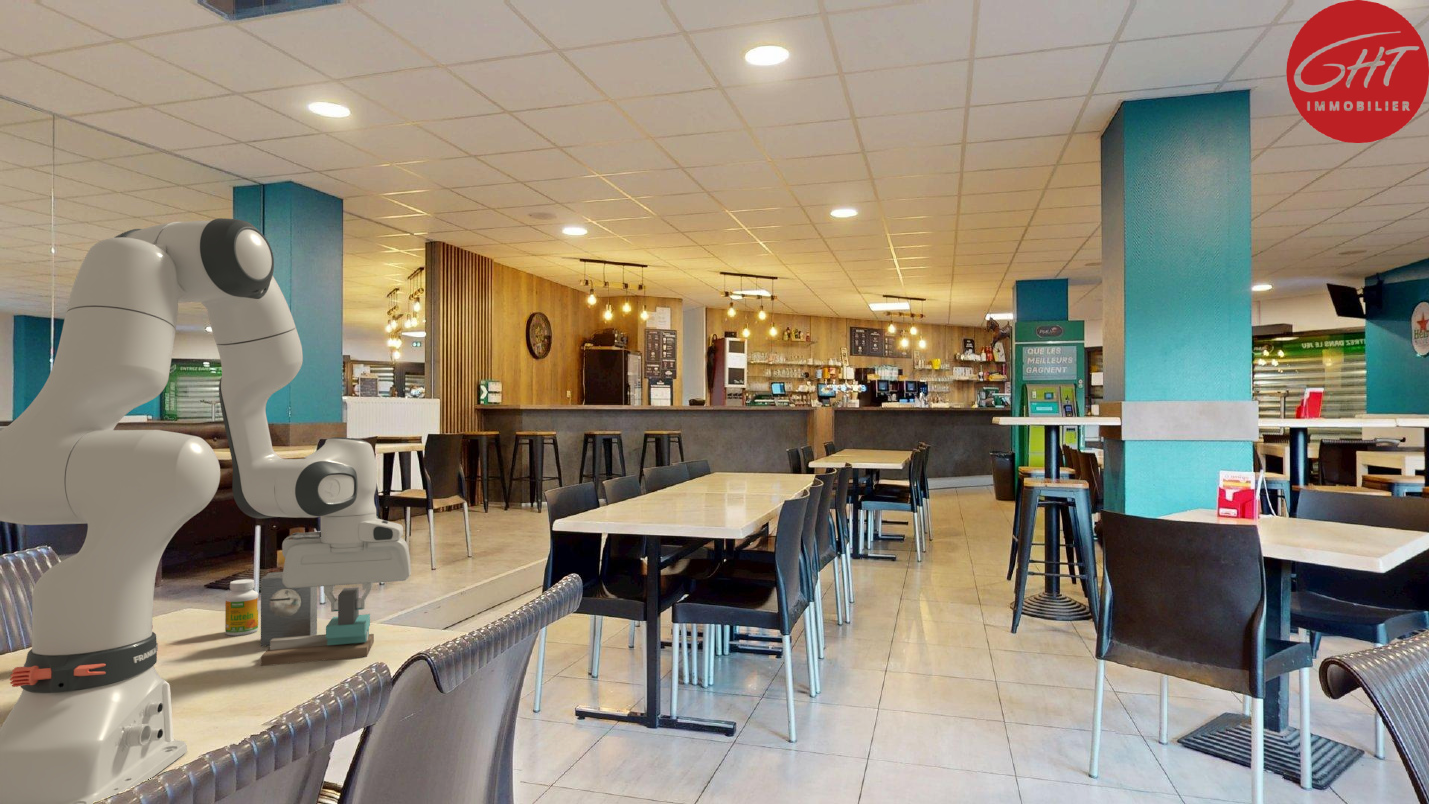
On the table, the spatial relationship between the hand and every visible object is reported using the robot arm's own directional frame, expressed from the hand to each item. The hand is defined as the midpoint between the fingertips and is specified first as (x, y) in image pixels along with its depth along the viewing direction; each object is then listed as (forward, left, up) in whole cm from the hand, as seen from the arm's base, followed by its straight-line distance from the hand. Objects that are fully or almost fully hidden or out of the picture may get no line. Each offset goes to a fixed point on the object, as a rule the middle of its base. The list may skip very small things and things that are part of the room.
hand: (348, 609), depth 135 cm
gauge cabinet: (+11, +11, -7) cm, 17 cm away
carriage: (0, 0, -5) cm, 5 cm away
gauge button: (+11, +11, +7) cm, 17 cm away
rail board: (0, +4, -7) cm, 8 cm away
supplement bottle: (+20, +21, -7) cm, 30 cm away
